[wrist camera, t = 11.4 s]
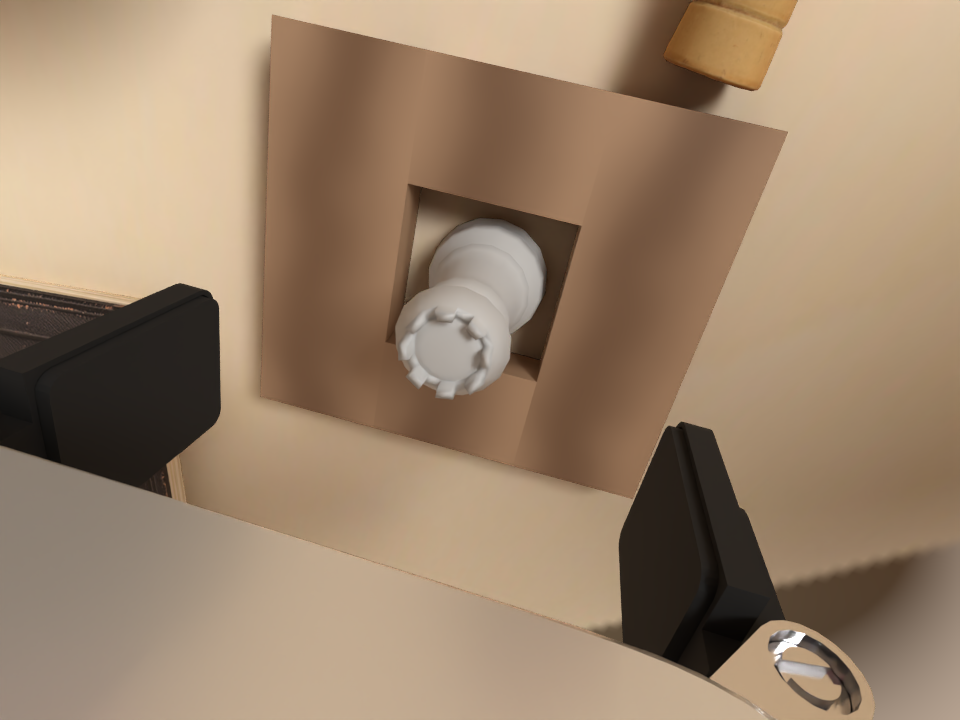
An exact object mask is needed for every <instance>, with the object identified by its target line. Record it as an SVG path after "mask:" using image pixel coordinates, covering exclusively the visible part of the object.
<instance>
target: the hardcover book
mask: <svg viewBox="0 0 960 720" xmlns="http://www.w3.org/2000/svg"><path fill="white" fill-rule="evenodd" d="M138 300H140V298H134V297H128V296H122V295H116V294H110V293H105V292H99V291H93V290H87V289H81V288H75V287H69V286H64V285H58V284H52V283H46V282H40V281H35V280H29V279H23V278H17V277H12V276H6V275H0V359H1V358H4V357H6V356H8V355H11V354H13V353H15V352H18V351H20V350H22V349H25V348H27V347H29V346H32V345H34V344H36V343H39V342H41V341H44V340H46V339H48V338H51V337H53V336H55V335H58V334H60V333H62V332H65V331H67V330H69V329H72V328H74V327H76V326H79V325H81V324H84V323H86V322H88V321H91V320H93V319H95V318H98V317H100V316H102V315H105V314H107V313H109V312H112V311H114V310H116V309H119V308H121V307H124V306H126V305H128V304H131V303H133V302H135V301H138ZM139 488H140V489H144V490H147V491H150V492H153V493H156V494H159V495H163V496H166V497H169V498H172V499H175V500H179V501H182V502H185V503H187V502H186V496H185V489H184V483H183V476H182V470H181V464H180V457H179V454H178V455H177V456H176V457H175V458H174V459H172V460H171V461H170V462H169V463H168V464H166V465H165V466H164V467H163V468H162V469H160V470H159V471H158V472H157V473H155V474H154V475H153V476H152V477H151V478H149V479H148V480H147V481H146V482H145V483H143V484H142V485H141V486H140V487H139Z"/></svg>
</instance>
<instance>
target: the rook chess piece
mask: <svg viewBox="0 0 960 720" xmlns="http://www.w3.org/2000/svg"><path fill="white" fill-rule="evenodd" d="M546 278H547V268H546V265H545V262H544V259H543V256H542V253H541V250H540V248H539V246H538V245H537V244H536V243H535V242H534V241H533V240H532V238H531V237H530V236H529V235H528V234H527V233H526V231H525V230H523V229H521V228H519V227H517V226H515V225H513V224H511V223H509V222H507V221H505V220H503V219H488V218H478V219H475V220H472V221H469V222H466V223H464V224H461V225H458V226H457V227H456V228H455V229H454V230H453V231H451V232H450V233H449V234H448V235H447V236H446V237H445V238H444V239H443V240H442V241H441V243H440V245H439V246H438V247H437V250H436V252H435V254H434V257H433V259H432V261H431V264H430V266H429V289H427V290H424V291H421V292H419V293H418V294H417V295H415V296H414V297H413V298H412V299H411V300H410V301H409V302H408V303H407V304H406V305H405V306H403V309H402V311H401V313H400V316H399V318H398V321H397V323H396V326H395V332H396V348H397V351H398V361H399V360H402V362H403V364H404V366H405V368H406V369H407V370H408V371H409V372H408V374H407V375H406V378H407V379H408V380H409V381H410V382H411V383H412V384H413V385H414V386H415V387H416V388H417V389H418V390H419V388H420V387H421V386H422V385H423V384H424V385H426V386H428V387H430V388H432V389H434V390H436V396H435V398H443V399H451V400H453V399H454V396H455V394H456V395H465V394H469V395H471V394H472V393H474V392H477V391H481V390H484V389H485V388H486V387H488V386H489V385H490V384H492V383H493V382H494V381H496V380H497V379H498V378H500V376H501V374H502V372H503V371H504V369H505V367H506V365H507V363H508V361H509V359H510V348H511V335H510V334H512V333H514V332H515V331H517V330H518V329H519V328H520V327H522V326H523V325H524V324H525V323H527V322H528V321H529V320H530V319H532V317H533V315H534V313H535V311H536V309H537V308H538V306H539V304H540V302H541V300H542V298H543V296H544V294H545V290H546Z"/></svg>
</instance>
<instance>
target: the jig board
mask: <svg viewBox="0 0 960 720" xmlns="http://www.w3.org/2000/svg"><path fill="white" fill-rule="evenodd" d="M787 134H788V132H786V131H782V130H777V129H773V128H768V127H764V126H760V125H755V124H751V123H746V122H742V121H738V120H733V119H729V118H724V117H720V116H716V115H711V114H707V113H702V112H698V111H694V110H689V109H685V108H680V107H676V106H672V105H667V104H663V103H658V102H654V101H650V100H645V99H641V98H636V97H632V96H628V95H623V94H619V93H614V92H610V91H606V90H601V89H597V88H592V87H588V86H584V85H579V84H575V83H571V82H566V81H562V80H557V79H553V78H549V77H544V76H540V75H535V74H531V73H527V72H522V71H518V70H513V69H509V68H505V67H500V66H496V65H491V64H487V63H483V62H478V61H474V60H469V59H465V58H461V57H456V56H452V55H447V54H443V53H439V52H434V51H430V50H425V49H421V48H417V47H412V46H408V45H403V44H399V43H395V42H390V41H386V40H381V39H377V38H373V37H368V36H364V35H359V34H355V33H351V32H346V31H342V30H337V29H333V28H329V27H324V26H320V25H315V24H311V23H307V22H302V21H298V20H293V19H289V18H285V17H280V16H276V15H272V28H271V61H270V95H269V128H268V162H267V195H266V229H265V262H264V296H263V329H262V363H261V396H260V397H264V398H268V399H271V400H275V401H279V402H282V403H286V404H290V405H293V406H297V407H300V408H304V409H308V410H311V411H315V412H319V413H322V414H326V415H330V416H333V417H337V418H340V419H344V420H348V421H351V422H355V423H359V424H362V425H366V426H370V427H373V428H377V429H380V430H384V431H388V432H391V433H395V434H399V435H402V436H406V437H410V438H413V439H417V440H420V441H424V442H428V443H431V444H435V445H439V446H442V447H446V448H450V449H453V450H457V451H460V452H464V453H468V454H471V455H475V456H479V457H482V458H486V459H490V460H493V461H497V462H500V463H504V464H508V465H511V466H515V467H519V468H522V469H526V470H530V471H533V472H537V473H540V474H544V475H548V476H551V477H555V478H559V479H562V480H566V481H570V482H573V483H577V484H580V485H584V486H588V487H591V488H595V489H599V490H602V491H606V492H610V493H613V494H617V495H620V496H624V497H628V498H631V499H633V497H634V494H635V492H636V489H637V487H638V485H639V482H640V480H641V478H642V475H643V473H644V471H645V468H646V466H647V464H648V461H649V459H650V456H651V454H652V452H653V449H654V447H655V445H656V442H657V440H658V438H659V435H660V433H661V431H662V428H663V426H664V423H665V421H666V419H667V416H668V414H669V412H670V409H671V407H672V405H673V402H674V400H675V398H676V395H677V393H678V390H679V388H680V386H681V383H682V381H683V379H684V376H685V374H686V372H687V369H688V367H689V365H690V362H691V360H692V357H693V355H694V353H695V350H696V348H697V346H698V343H699V341H700V339H701V336H702V334H703V332H704V329H705V327H706V324H707V322H708V320H709V317H710V315H711V313H712V310H713V308H714V306H715V303H716V301H717V299H718V296H719V294H720V292H721V289H722V287H723V284H724V282H725V280H726V277H727V275H728V273H729V270H730V268H731V266H732V263H733V261H734V259H735V256H736V254H737V251H738V249H739V247H740V244H741V242H742V240H743V237H744V235H745V233H746V230H747V228H748V226H749V223H750V221H751V218H752V216H753V214H754V211H755V209H756V207H757V204H758V202H759V200H760V197H761V195H762V193H763V190H764V188H765V185H766V183H767V181H768V178H769V176H770V174H771V171H772V169H773V167H774V164H775V162H776V160H777V157H778V155H779V152H780V150H781V148H782V145H783V143H784V141H785V138H786V136H787ZM421 187H424V188H428V189H432V190H436V191H441V192H445V193H449V194H453V195H457V196H461V197H465V198H469V199H473V200H477V201H482V202H486V203H490V204H494V205H498V206H502V207H506V208H510V209H514V210H518V211H522V212H527V213H531V214H535V215H539V216H543V217H547V218H551V219H555V220H559V221H563V222H568V223H572V224H576V225H579V227H578V230H577V234H576V237H575V241H574V244H573V248H572V251H571V255H570V258H569V262H568V265H567V269H566V272H565V276H564V279H563V283H562V286H561V290H560V293H559V297H558V300H557V304H556V307H555V311H554V314H553V318H552V321H551V325H550V328H549V332H548V335H547V339H546V342H545V346H544V349H543V353H542V356H541V360H537V359H533V358H529V357H526V356H522V355H518V354H514V353H510V359H509V361H508V363H507V365H506V367H505V369H504V371H503V372H502V374H501V376H500V378H498V379H497V380H496V381H494V382H493V383H492V384H490V385H489V386H488V387H486V388H485V389H484V390H481V391H477V392H474V393H472V394H471V395H469V394H465V395H456V394H455V396H454V399H453V400H451V399H443V398H435V396H436V390H434V389H432V388H430V387H428V386H426V385H424V384H423V385H422V386H421V387H420V388H419V390H418V389H417V388H416V387H415V386H414V385H413V384H412V383H411V382H410V381H409V380H408V379H407V378H406V375H407V374H408V372H409V371H408V370H407V369H406V368H405V366H404V364H403V362H402V360H399V361H398V351H397V348H396V332H395V326H396V323H397V321H398V318H399V316H400V313H401V311H402V309H403V305H404V299H405V292H406V286H407V279H408V273H409V266H410V259H411V253H412V246H413V240H414V233H415V227H416V220H417V214H418V207H419V200H420V194H421Z"/></svg>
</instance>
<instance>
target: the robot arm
mask: <svg viewBox="0 0 960 720" xmlns="http://www.w3.org/2000/svg"><path fill="white" fill-rule="evenodd" d="M220 410H221V397H220V339H219V305H218V303H217V301H216V300H214V299H213V297H212V295H211V293H210V292H209V291H207V290H203V289H200V288H196V287H192V286H189V285H185V284H181V283H179V284H175V285H173V286H171V287H168V288H166V289H164V290H161V291H159V292H156V293H154V294H152V295H149V296H147V297H145V298H142V299H140V300H138V301H135V302H133V303H131V304H128V305H126V306H124V307H121V308H119V309H116V310H114V311H112V312H109V313H107V314H105V315H102V316H100V317H98V318H95V319H93V320H91V321H88V322H86V323H84V324H81V325H79V326H76V327H74V328H72V329H69V330H67V331H65V332H62V333H60V334H58V335H55V336H53V337H51V338H48V339H46V340H44V341H41V342H39V343H36V344H34V345H32V346H29V347H27V348H25V349H22V350H20V351H18V352H15V353H13V354H11V355H8V356H6V357H4V358H1V359H0V720H872V719H873V715H874V710H875V703H874V698H873V694H872V690H871V688H870V687H869V685H868V683H867V681H866V679H865V677H864V675H863V674H862V673H861V671H860V670H859V669H858V668H857V666H856V665H855V664H854V663H853V662H852V660H851V659H850V658H849V657H848V656H847V655H846V654H845V653H843V651H842V650H840V649H839V648H838V647H837V646H836V645H835V644H834V643H832V642H831V641H829V640H828V639H826V638H825V637H823V636H822V635H820V634H819V633H818V632H816V631H814V630H812V629H809V628H807V627H805V626H803V625H801V624H798V623H793V622H789V621H786V620H785V618H784V615H783V612H782V609H781V607H780V604H779V601H778V599H777V595H776V593H775V590H774V587H773V584H772V582H771V579H770V576H769V573H768V570H767V568H766V565H765V562H764V559H763V557H762V554H761V551H760V548H759V546H758V543H757V540H756V537H755V534H754V532H753V529H752V526H751V523H750V521H749V518H748V516H747V514H746V512H745V510H743V509H741V508H739V505H738V502H737V500H736V497H735V494H734V491H733V488H732V485H731V482H730V479H729V477H728V474H727V471H726V468H725V465H724V462H723V459H722V456H721V454H720V451H719V448H718V445H717V442H716V439H715V436H714V433H713V432H712V430H710V429H707V428H703V427H699V426H696V425H692V424H688V423H685V422H680V423H679V424H678V425H677V426H676V428H675V427H672V426H668V427H667V428H666V429H665V431H664V433H663V435H662V438H661V440H660V442H659V445H658V447H657V449H656V452H655V454H654V456H653V458H652V461H651V463H650V465H649V468H648V470H647V472H646V475H645V477H644V479H643V482H642V484H641V486H640V489H639V491H638V493H637V495H636V498H635V500H634V502H633V505H632V507H631V509H630V512H629V514H628V516H627V519H626V521H625V523H624V525H623V528H622V531H621V534H620V539H619V563H620V585H621V608H622V629H623V643H622V642H619V641H616V640H614V639H611V638H608V637H605V636H602V635H600V634H597V633H594V632H591V631H588V630H585V629H583V628H580V627H577V626H574V625H571V624H568V623H565V622H562V621H559V620H555V619H552V618H549V617H546V616H543V615H540V614H537V613H534V612H530V611H527V610H524V609H521V608H518V607H515V606H512V605H508V604H505V603H502V602H499V601H496V600H493V599H490V598H487V597H483V596H480V595H477V594H474V593H471V592H468V591H465V590H462V589H458V588H455V587H452V586H449V585H446V584H443V583H440V582H436V581H433V580H430V579H427V578H424V577H421V576H418V575H415V574H411V573H408V572H405V571H402V570H399V569H395V568H392V567H389V566H386V565H383V564H379V563H376V562H373V561H370V560H367V559H364V558H360V557H357V556H354V555H351V554H348V553H344V552H341V551H338V550H335V549H332V548H328V547H325V546H322V545H319V544H316V543H312V542H309V541H306V540H303V539H300V538H296V537H293V536H290V535H287V534H284V533H280V532H277V531H274V530H271V529H268V528H265V527H261V526H258V525H255V524H252V523H249V522H245V521H242V520H239V519H236V518H233V517H229V516H226V515H223V514H220V513H217V512H214V511H210V510H207V509H204V508H201V507H198V506H194V505H191V504H188V503H185V502H182V501H179V500H175V499H172V498H169V497H166V496H163V495H159V494H156V493H153V492H150V491H147V490H144V489H140V488H139V487H140V486H141V485H142V484H143V483H145V482H146V481H147V480H148V479H149V478H151V477H152V476H153V475H154V474H155V473H157V472H158V471H159V470H160V469H162V468H163V467H164V466H165V465H166V464H168V463H169V462H170V461H171V460H172V459H174V458H175V457H176V456H177V455H178V454H180V453H181V452H182V451H183V450H184V449H186V448H187V447H188V446H189V445H190V444H192V443H193V442H194V441H195V440H196V439H198V438H199V437H200V436H201V435H202V434H204V433H205V432H206V431H207V430H208V429H210V428H211V427H212V426H213V425H214V424H215V423H216V421H217V420H218V417H219V415H220Z"/></svg>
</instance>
